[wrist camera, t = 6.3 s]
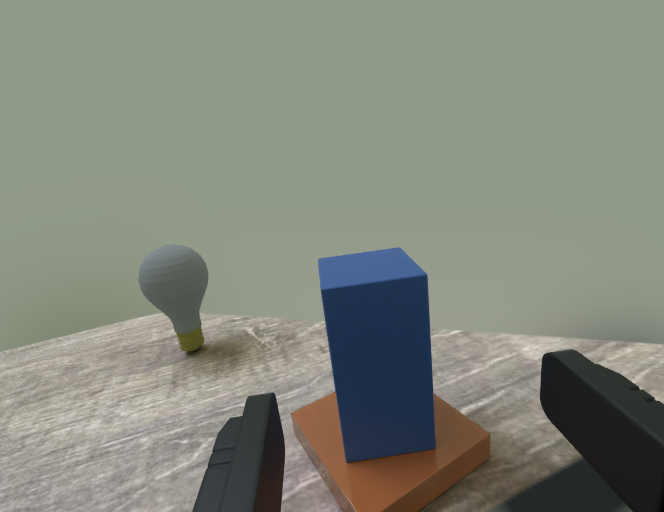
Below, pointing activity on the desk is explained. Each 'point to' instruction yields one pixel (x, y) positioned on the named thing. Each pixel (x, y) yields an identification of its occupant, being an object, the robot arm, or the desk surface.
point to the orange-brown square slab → (390, 460)
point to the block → (379, 352)
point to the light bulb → (177, 289)
